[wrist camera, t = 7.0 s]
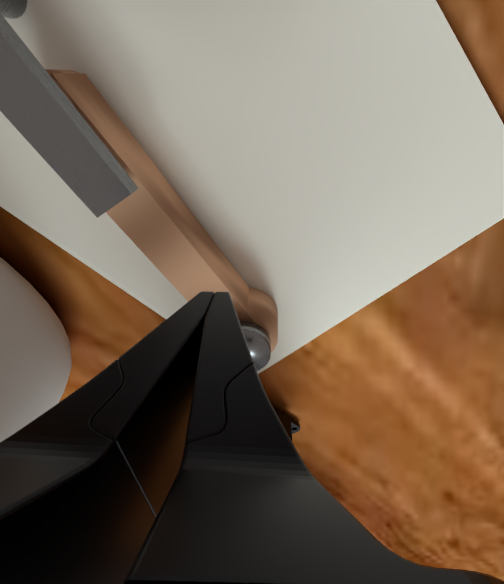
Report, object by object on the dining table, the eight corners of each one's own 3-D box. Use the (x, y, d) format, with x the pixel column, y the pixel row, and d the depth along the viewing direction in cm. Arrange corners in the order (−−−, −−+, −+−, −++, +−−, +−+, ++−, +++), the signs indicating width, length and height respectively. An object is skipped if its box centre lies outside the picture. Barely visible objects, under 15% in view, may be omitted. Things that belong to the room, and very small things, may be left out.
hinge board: (252, 370, 25) (252, 377, 24) (-112, 116, 16) (-129, 118, 15) (530, 188, 16) (541, 194, 15) (34, -697, 6) (7, -786, 6)
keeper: (239, 333, 22) (232, 380, 18) (-35, -19, 12) (-156, -56, 9) (280, 317, 21) (280, 364, 17) (15, -84, 11) (-101, -155, 8)
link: (288, 321, 20) (290, 346, 18) (239, 342, 22) (235, 368, 20) (84, 43, 13) (48, 36, 11) (28, 104, 14) (-13, 109, 12)
